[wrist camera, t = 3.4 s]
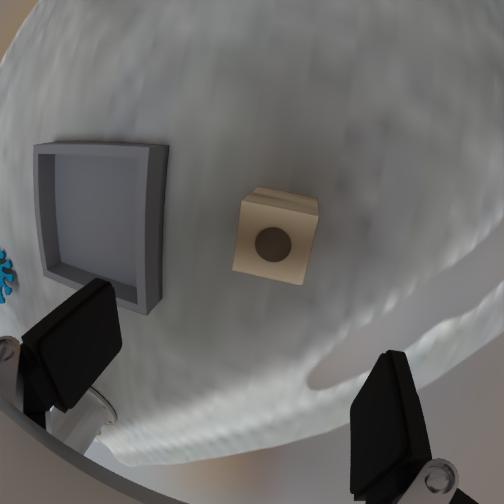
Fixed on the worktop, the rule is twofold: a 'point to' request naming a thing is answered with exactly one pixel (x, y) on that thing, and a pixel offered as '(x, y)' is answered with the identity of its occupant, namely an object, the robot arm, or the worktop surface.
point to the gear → (1, 276)
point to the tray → (102, 216)
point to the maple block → (275, 235)
